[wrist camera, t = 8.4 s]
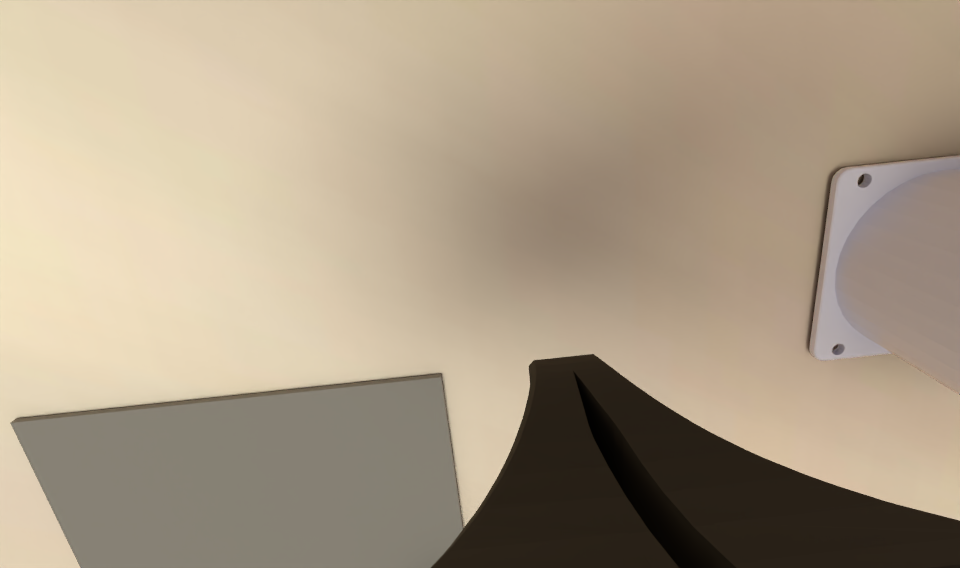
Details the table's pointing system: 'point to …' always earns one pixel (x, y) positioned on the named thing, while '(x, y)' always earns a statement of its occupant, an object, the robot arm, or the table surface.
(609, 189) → the table surface
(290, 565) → the mat
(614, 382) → the robot arm
